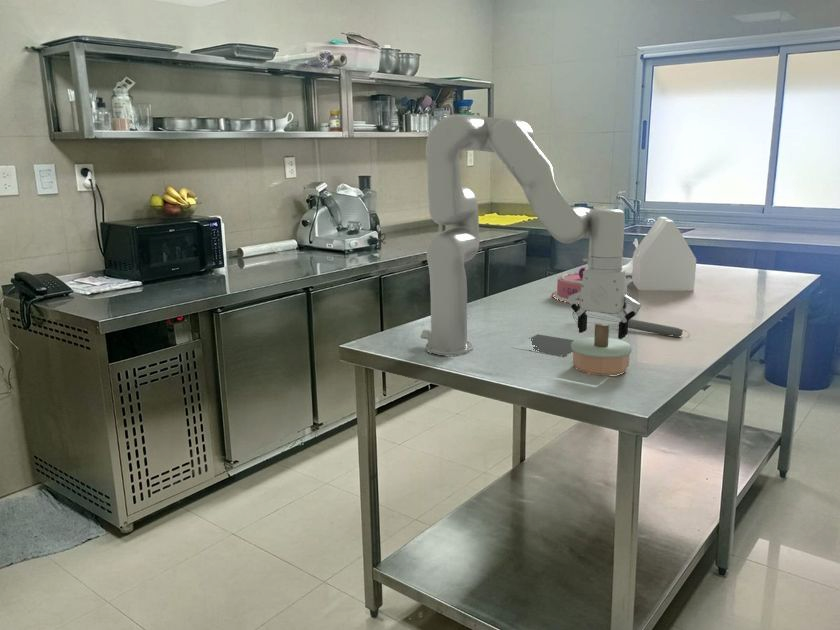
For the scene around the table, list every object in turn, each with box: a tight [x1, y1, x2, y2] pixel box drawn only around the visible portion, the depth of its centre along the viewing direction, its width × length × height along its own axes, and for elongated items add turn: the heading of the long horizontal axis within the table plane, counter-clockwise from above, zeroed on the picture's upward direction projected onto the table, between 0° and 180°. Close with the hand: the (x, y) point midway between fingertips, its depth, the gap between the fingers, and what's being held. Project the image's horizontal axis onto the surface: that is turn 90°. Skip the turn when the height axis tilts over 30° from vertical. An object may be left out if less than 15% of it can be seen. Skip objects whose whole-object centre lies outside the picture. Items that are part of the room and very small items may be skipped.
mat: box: [528, 333, 574, 358], centre depth 178 cm, size 15×15×1 cm
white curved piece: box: [622, 238, 639, 277], centre depth 267 cm, size 5×19×15 cm, turn 113°
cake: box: [551, 267, 586, 304], centre depth 233 cm, size 25×25×11 cm
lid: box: [571, 322, 633, 358], centre depth 158 cm, size 14×14×6 cm
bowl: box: [572, 351, 630, 376], centre depth 159 cm, size 12×12×5 cm
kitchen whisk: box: [571, 305, 690, 338], centre depth 191 cm, size 6×34×6 cm, turn 56°
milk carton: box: [631, 216, 697, 292], centre depth 246 cm, size 19×15×25 cm
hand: (601, 334), depth 158 cm, fingers open, 9 cm apart
